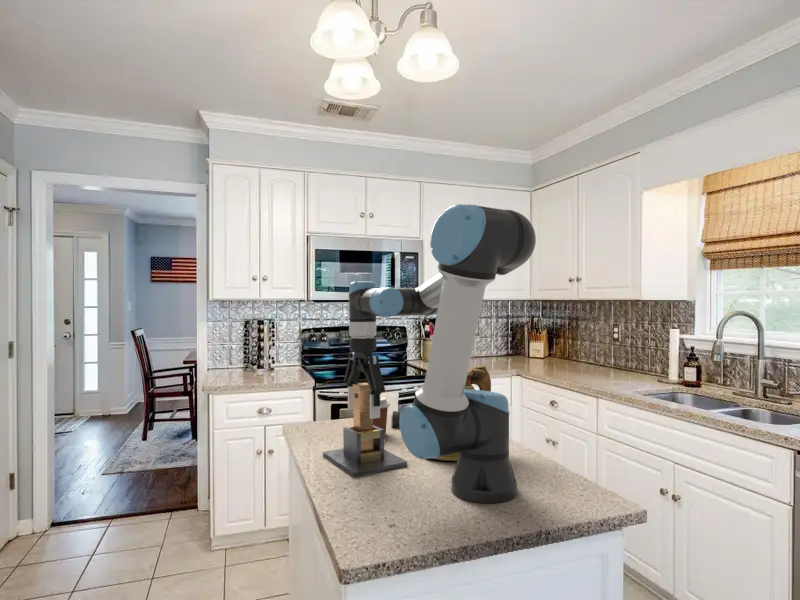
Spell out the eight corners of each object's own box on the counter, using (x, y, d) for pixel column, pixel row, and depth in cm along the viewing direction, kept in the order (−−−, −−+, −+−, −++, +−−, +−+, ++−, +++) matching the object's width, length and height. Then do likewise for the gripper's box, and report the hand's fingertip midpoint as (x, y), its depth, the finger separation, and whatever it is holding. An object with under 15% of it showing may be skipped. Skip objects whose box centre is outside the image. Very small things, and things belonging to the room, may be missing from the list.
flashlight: (434, 424, 174) (434, 409, 174) (435, 428, 169) (435, 413, 169) (391, 424, 174) (391, 409, 175) (391, 428, 169) (391, 413, 169)
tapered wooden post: (373, 456, 133) (372, 384, 134) (359, 459, 131) (358, 385, 132) (367, 453, 137) (365, 382, 137) (353, 456, 135) (352, 384, 135)
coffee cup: (357, 433, 162) (357, 398, 162) (379, 429, 168) (379, 394, 168) (372, 439, 155) (372, 402, 155) (395, 435, 160) (395, 398, 160)
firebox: (407, 465, 130) (406, 432, 130) (353, 477, 121) (353, 441, 121) (372, 447, 147) (371, 417, 147) (323, 456, 138) (322, 424, 138)
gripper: (397, 339, 126) (398, 420, 125) (355, 334, 147) (355, 403, 147) (372, 340, 122) (372, 424, 121) (332, 335, 143) (332, 406, 143)
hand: (363, 413), depth 134 cm, fingers open, 13 cm apart
